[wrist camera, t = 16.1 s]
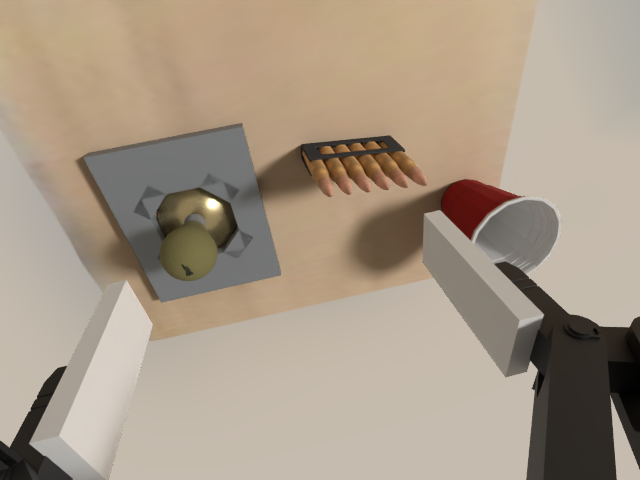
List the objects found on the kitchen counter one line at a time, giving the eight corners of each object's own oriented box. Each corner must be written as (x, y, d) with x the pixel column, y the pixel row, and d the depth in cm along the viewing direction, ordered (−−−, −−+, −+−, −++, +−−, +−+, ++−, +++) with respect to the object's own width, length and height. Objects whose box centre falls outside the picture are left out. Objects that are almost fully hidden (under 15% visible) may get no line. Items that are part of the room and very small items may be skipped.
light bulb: (230, 218, 43) (227, 268, 35) (200, 247, 45) (190, 301, 36) (192, 189, 40) (179, 236, 32) (161, 220, 42) (141, 273, 34)
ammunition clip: (301, 159, 41) (320, 206, 31) (300, 144, 40) (319, 187, 30) (389, 150, 43) (434, 192, 33) (390, 135, 42) (437, 173, 32)
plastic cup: (507, 154, 46) (581, 194, 36) (488, 226, 52) (547, 277, 42) (428, 162, 44) (482, 206, 34) (418, 235, 50) (461, 290, 40)
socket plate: (88, 153, 37) (83, 158, 35) (241, 123, 38) (241, 126, 37) (163, 295, 48) (161, 302, 47) (280, 268, 49) (281, 275, 48)
